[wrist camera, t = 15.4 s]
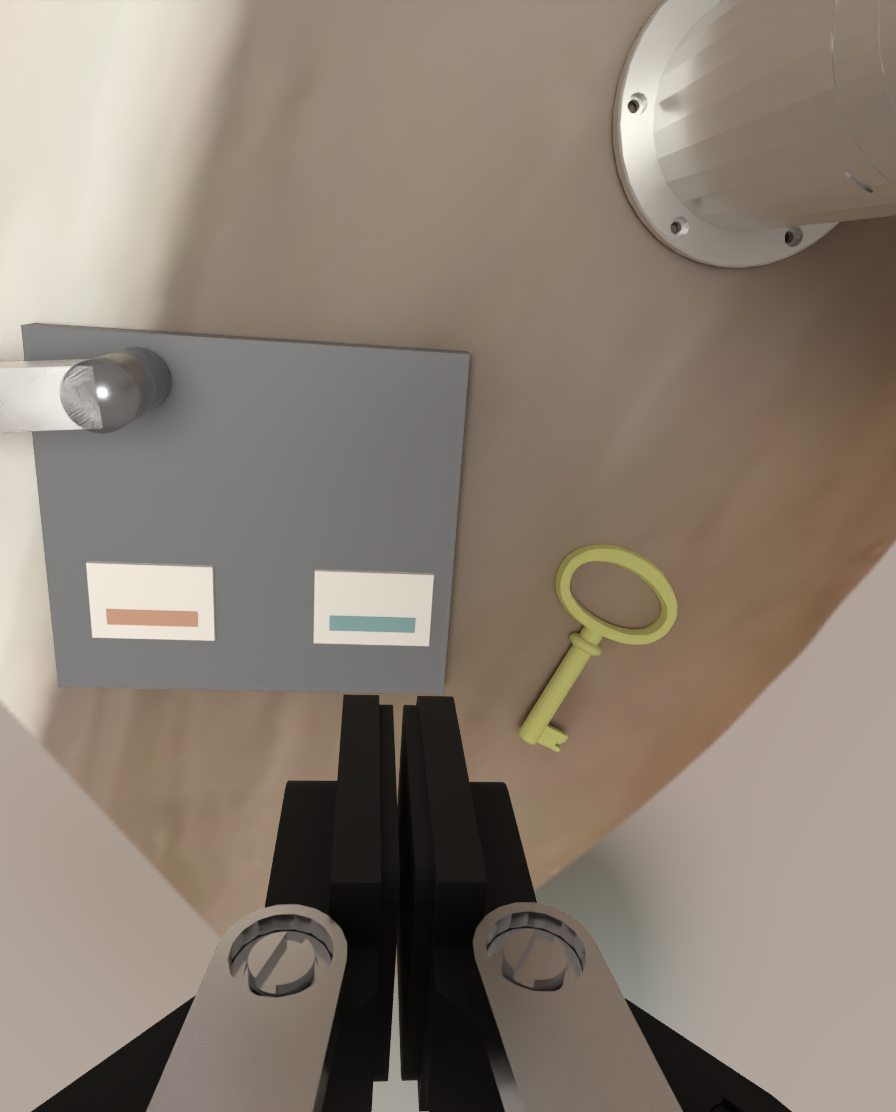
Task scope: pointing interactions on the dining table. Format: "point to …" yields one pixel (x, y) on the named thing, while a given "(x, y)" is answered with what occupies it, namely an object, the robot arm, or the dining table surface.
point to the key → (593, 633)
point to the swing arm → (82, 391)
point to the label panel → (256, 517)
